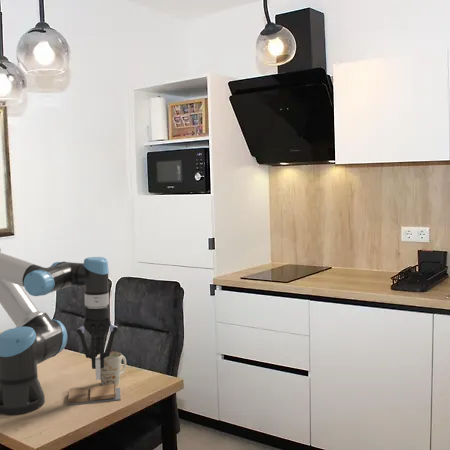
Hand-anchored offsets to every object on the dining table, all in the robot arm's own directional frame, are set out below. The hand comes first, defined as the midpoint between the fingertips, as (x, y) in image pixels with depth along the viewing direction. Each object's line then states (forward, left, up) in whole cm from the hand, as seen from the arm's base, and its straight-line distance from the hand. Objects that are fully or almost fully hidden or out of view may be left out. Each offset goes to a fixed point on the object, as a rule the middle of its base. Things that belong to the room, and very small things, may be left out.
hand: (98, 377), depth 186 cm
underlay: (-1, 0, -6) cm, 6 cm away
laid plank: (-6, 0, -6) cm, 9 cm away
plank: (+1, 0, -5) cm, 5 cm away
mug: (+5, +12, -6) cm, 14 cm away
